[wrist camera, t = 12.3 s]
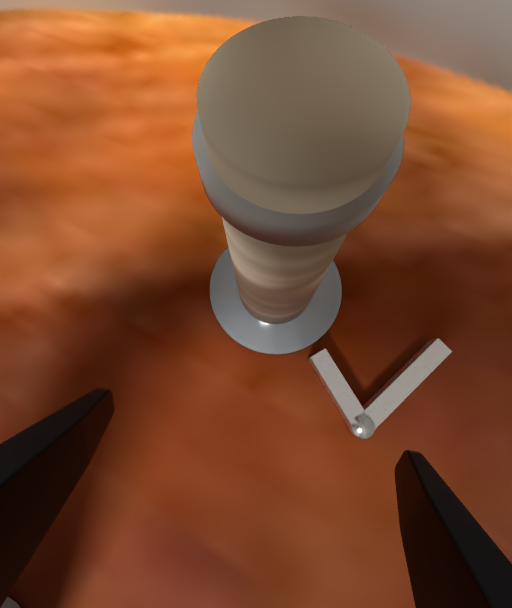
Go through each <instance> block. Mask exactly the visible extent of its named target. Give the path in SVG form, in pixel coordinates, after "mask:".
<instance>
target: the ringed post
mask: <svg viewBox="0 0 512 608" xmlns="http://www.w3.org/2000/svg"><path fill="white" fill-rule="evenodd" d="M410 107H411V99H410V90H409V86H408V82H407V79H406V77H405V75H404V72H403V70H402V68H401V67H400V65H399V63H398V62H397V60H396V59H395V58H394V57H393V55H392V54H391V53H390V52H389V51H388V50H387V49H386V48H385V47H384V46H383V45H382V44H381V43H379V42H378V41H376V40H375V39H374V38H373V37H371V36H370V35H368V34H366V33H364V32H363V31H361V30H359V29H357V28H354V27H352V26H350V25H347V24H344V23H341V22H338V21H334V20H329V19H325V18H318V17H305V16H297V17H284V18H278V19H273V20H269V21H265V22H261V23H259V24H256V25H253V26H251V27H249V28H247V29H245V30H243V31H241V32H239V33H237V34H236V35H234V36H233V37H231V38H230V39H228V40H227V41H226V42H225V43H224V44H222V45H221V46H220V47H219V48H218V49H217V50H216V52H215V53H214V54H213V55H212V56H211V58H210V59H209V61H208V62H207V64H206V66H205V68H204V70H203V72H202V74H201V77H200V80H199V83H198V89H197V109H198V111H197V114H196V117H195V120H194V125H193V132H192V142H193V150H194V155H195V159H196V162H197V166H198V169H199V173H200V177H201V180H202V183H203V186H204V189H205V192H206V194H207V196H208V198H209V200H210V202H211V204H212V205H213V207H214V208H215V209H216V211H217V212H218V213H219V214H220V215H221V216H222V221H223V225H224V229H225V234H226V238H227V243H228V247H229V251H230V256H231V260H232V265H233V269H234V273H235V278H236V282H237V287H238V291H239V295H240V299H241V302H242V304H243V306H244V308H245V309H246V310H247V312H248V313H249V314H250V315H252V316H253V317H254V318H256V319H257V320H259V321H262V322H265V323H269V324H283V323H287V322H290V321H292V320H294V319H296V318H297V317H299V316H300V315H301V314H302V313H303V312H304V311H305V309H306V308H307V306H308V304H309V303H310V301H311V299H312V297H313V295H314V294H315V292H316V290H317V288H318V286H319V285H320V283H321V281H322V279H323V277H324V276H325V274H326V272H327V270H328V268H329V267H330V265H331V263H332V261H333V259H334V258H335V256H336V254H337V252H338V250H339V249H340V247H341V245H342V243H343V241H344V240H345V238H346V236H347V234H348V232H350V231H352V230H353V229H355V228H356V227H357V226H359V225H360V224H361V223H362V222H363V221H365V220H366V218H367V217H368V216H369V215H370V214H371V213H372V212H373V210H374V209H375V207H376V206H377V204H378V203H379V201H380V200H381V198H382V196H383V195H384V193H385V192H386V190H387V188H388V187H389V185H390V184H391V182H392V180H393V179H394V177H395V175H396V173H397V171H398V169H399V166H400V163H401V160H402V156H403V149H404V131H405V129H406V126H407V123H408V119H409V116H410Z"/></svg>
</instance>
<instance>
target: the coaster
mask: <svg viewBox="0 0 512 608" xmlns="http://www.w3.org/2000/svg"><path fill="white" fill-rule="evenodd" d="M341 298H342V286H341V279H340V275H339V272H338V269H337V267H336V265H335V263H334V261H332V263H331V265H330V267H329V268H328V270H327V272H326V274H325V276H324V277H323V279H322V281H321V283H320V285H319V286H318V288H317V290H316V292H315V294H314V295H313V297H312V299H311V301H310V303H309V304H308V306H307V308H306V309H305V311H304V312H303V313H302V314H301V315H300V316H299V317H297V318H296V319H294V320H292V321H290V322H287V323H283V324H269V323H265V322H262V321H259V320H257V319H256V318H254V317H253V316H252V315H250V314H249V313H248V312H247V310H246V309H245V308H244V306H243V304H242V302H241V299H240V295H239V291H238V287H237V282H236V278H235V273H234V269H233V265H232V260H231V256H230V251H229V247H227V248H226V249H225V250H224V252H223V253H222V254H221V256H220V257H219V259H218V261H217V262H216V264H215V267H214V269H213V272H212V275H211V280H210V300H211V305H212V308H213V312H214V314H215V316H216V318H217V320H218V322H219V323H220V325H221V326H222V328H223V329H224V330H225V332H226V333H227V334H228V335H229V336H230V337H231V338H232V339H234V340H235V341H236V342H238V343H239V344H240V345H242V346H244V347H246V348H248V349H250V350H253V351H256V352H259V353H264V354H272V355H280V354H288V353H293V352H296V351H299V350H302V349H304V348H306V347H308V346H310V345H311V344H313V343H314V342H316V341H317V340H318V339H319V338H320V337H322V336H323V335H324V334H325V333H326V332H327V330H328V329H329V328H330V327H331V325H332V324H333V322H334V320H335V318H336V316H337V314H338V311H339V308H340V304H341Z"/></svg>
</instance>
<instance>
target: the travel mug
mask: <svg viewBox="0 0 512 608" xmlns="http://www.w3.org/2000/svg"><path fill="white" fill-rule="evenodd" d="M1 608H21V607H20V606H19V605H18V604H17V603H16V602H15V601H14V600H12V599H11V598H9V597H7V598H6V600H5V602H4V603H3V605H2V607H1Z"/></svg>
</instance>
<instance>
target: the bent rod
mask: <svg viewBox="0 0 512 608" xmlns="http://www.w3.org/2000/svg"><path fill="white" fill-rule="evenodd" d="M451 352H452V351H451V350H450V349H449V348H448V347H447V346H446V345H445V344H444V343H443V342H442V341H441V340H440V339H439V338H437V339H433V340H430V341H428V342H427V343H426V344H425V345H424V346H423V347H422V348H421V349H420V350H419V351H418V352H417V353H416V354H415V355H414V356H413V357H412V358H411V359H410V360H409V361H408V362H407V363H406V364H405V365H404V366H403V367H402V368H401V369H400V370H399V371H398V372H397V373H396V374H395V375H394V376H392V377H391V378H390V379H389V380H388V381H387V382H386V383H385V384H384V385H383V386H382V387H381V388H380V389H379V390H378V391H377V392H376V393H375V394H374V395H373V396H372V397H371V398H370V399H369V400H368V401H367V402H366V403H365V404H364V405H363V406H361V404H360V402H359V401H358V399H357V398H356V396H355V394H354V393H353V391H352V390H351V388H350V387H349V385H348V383H347V382H346V380H345V379H344V377H343V375H342V374H341V372H340V371H339V369H338V367H337V366H336V364H335V363H334V361H333V359H332V358H331V356H330V355H329V353H328V351H327V350H326V348H325V349H323V350H322V351H320V352H318V353H317V354H315V355H313V356H311V357H310V358H308V360H309V362H310V364H311V365H312V367H313V369H314V370H315V372H316V374H317V375H318V377H319V378H320V380H321V382H322V383H323V385H324V387H325V388H326V390H327V392H328V393H329V395H330V397H331V398H332V400H333V402H334V403H335V405H336V407H337V408H338V410H339V411H340V413H341V415H342V416H343V418H344V420H345V421H346V423H347V428H348V430H349V431H350V432H351V433H352V434H353V435H355V436H357V437H360V438H363V439H366V438H369V437H371V436H372V435H373V433H374V431H375V429H376V428H377V427H378V426H379V425H380V424H381V423H382V422H383V421H384V420H385V419H386V418H387V417H388V416H389V415H390V414H391V413H392V412H393V411H394V410H395V409H396V408H397V407H398V406H399V405H400V404H401V403H402V402H403V401H404V400H405V399H406V398H407V397H408V396H409V395H410V394H411V393H412V391H413V390H414V389H415V388H416V387H417V386H418V385H419V384H420V383H421V382H422V381H423V380H424V379H425V378H426V377H427V376H428V375H429V374H430V373H431V372H432V371H433V370H434V369H435V368H436V367H437V366H438V365H439V364H440V363H441V362H442V361H443V360H444V359H445V358H446V357H447V356H448V355H449V354H450V353H451Z"/></svg>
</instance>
